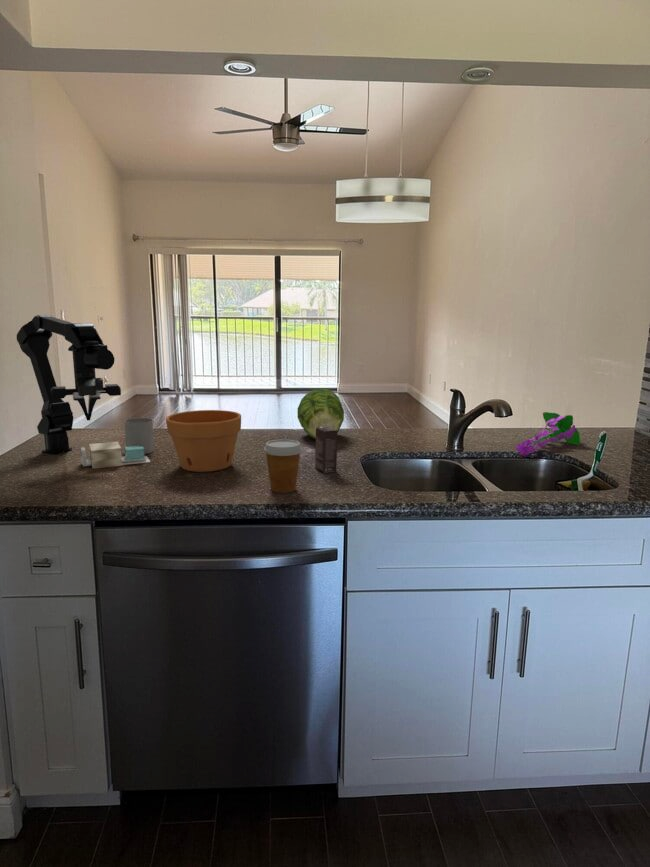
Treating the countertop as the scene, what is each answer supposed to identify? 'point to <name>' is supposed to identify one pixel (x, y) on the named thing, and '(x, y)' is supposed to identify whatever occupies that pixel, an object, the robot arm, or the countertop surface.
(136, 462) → the pad
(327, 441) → the box
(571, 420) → the purple flower
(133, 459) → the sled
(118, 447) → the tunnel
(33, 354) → the robot arm
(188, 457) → the flower pot
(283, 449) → the disposable coffee cup
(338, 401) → the lettuce
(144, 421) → the cup
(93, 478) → the countertop surface
